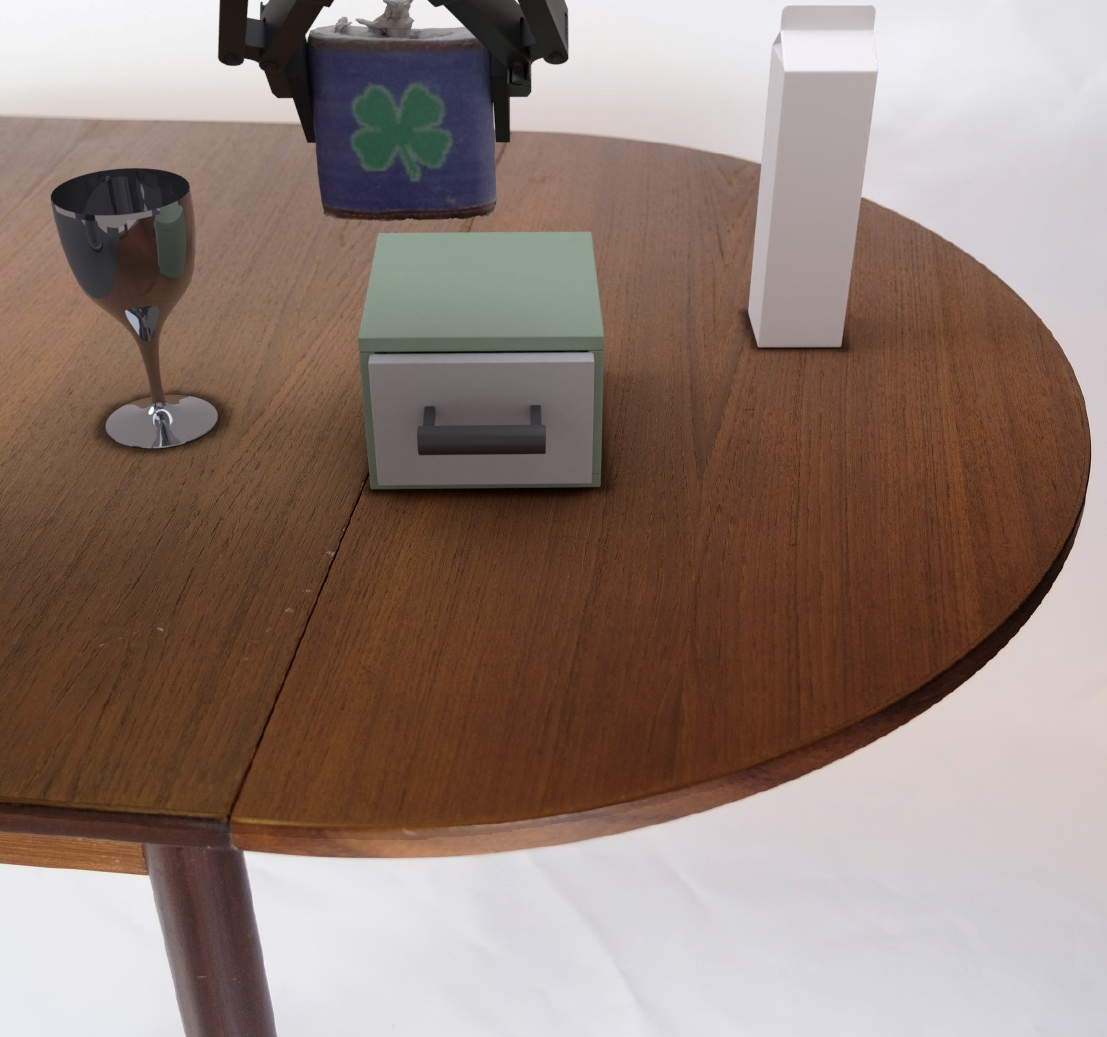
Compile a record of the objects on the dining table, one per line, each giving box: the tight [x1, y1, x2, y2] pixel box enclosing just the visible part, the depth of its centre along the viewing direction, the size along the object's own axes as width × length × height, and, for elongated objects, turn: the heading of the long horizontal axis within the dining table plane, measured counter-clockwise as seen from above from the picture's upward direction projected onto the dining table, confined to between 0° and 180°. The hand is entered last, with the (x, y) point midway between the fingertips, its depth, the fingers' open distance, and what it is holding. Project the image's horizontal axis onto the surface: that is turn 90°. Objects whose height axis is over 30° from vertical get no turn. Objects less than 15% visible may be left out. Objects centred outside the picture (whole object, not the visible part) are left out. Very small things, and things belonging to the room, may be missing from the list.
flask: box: [306, 0, 498, 222], centre depth 72 cm, size 9×3×11 cm, turn 90°
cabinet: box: [357, 231, 605, 490], centre depth 90 cm, size 16×14×10 cm
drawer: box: [368, 350, 594, 486], centre depth 87 cm, size 19×13×8 cm, turn 1°
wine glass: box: [50, 167, 219, 449], centre depth 89 cm, size 8×8×15 cm
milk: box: [747, 4, 879, 348], centre depth 98 cm, size 6×6×22 cm
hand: (408, 118), depth 76 cm, fingers closed on flask, 9 cm apart
